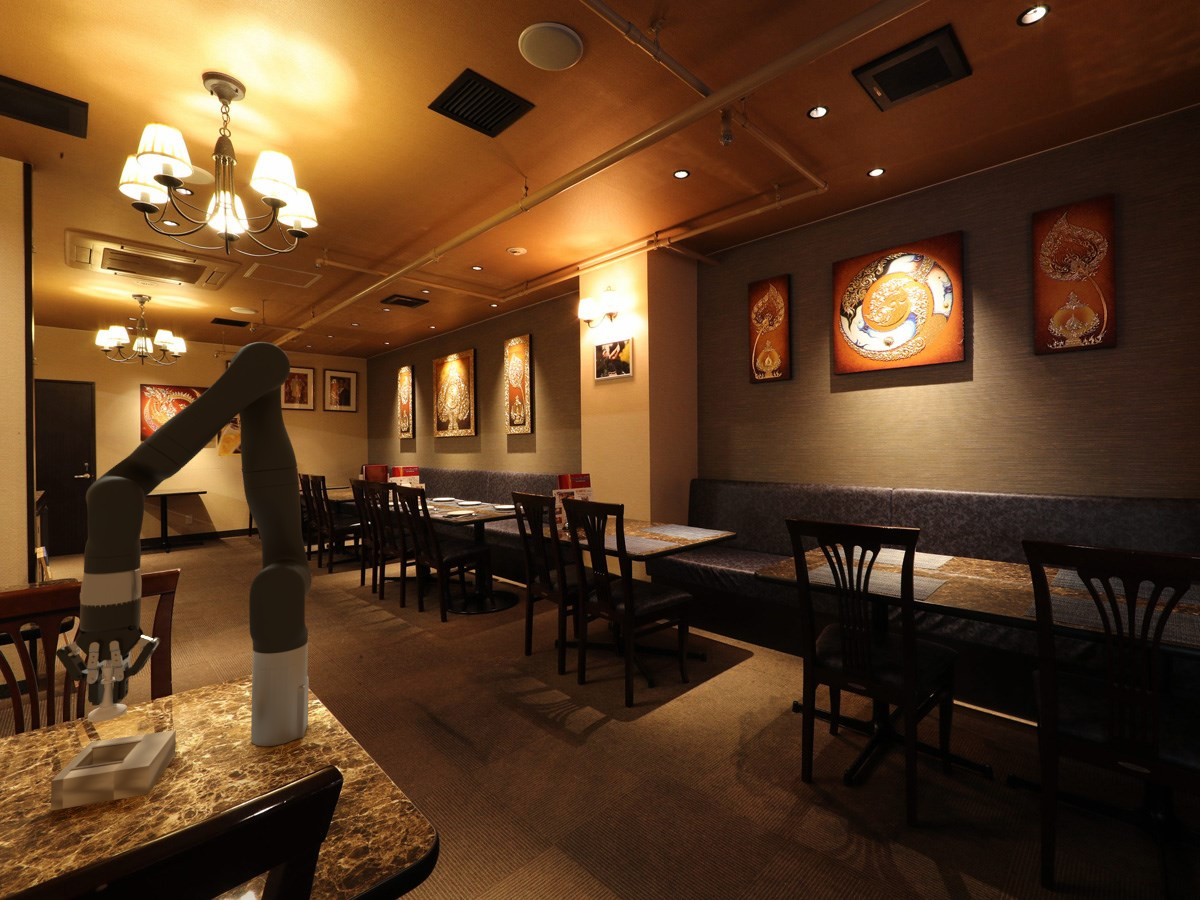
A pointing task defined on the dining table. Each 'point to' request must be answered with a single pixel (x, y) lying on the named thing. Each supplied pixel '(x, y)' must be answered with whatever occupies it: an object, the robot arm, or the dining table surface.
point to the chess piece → (107, 699)
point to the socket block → (113, 770)
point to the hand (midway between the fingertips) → (108, 702)
